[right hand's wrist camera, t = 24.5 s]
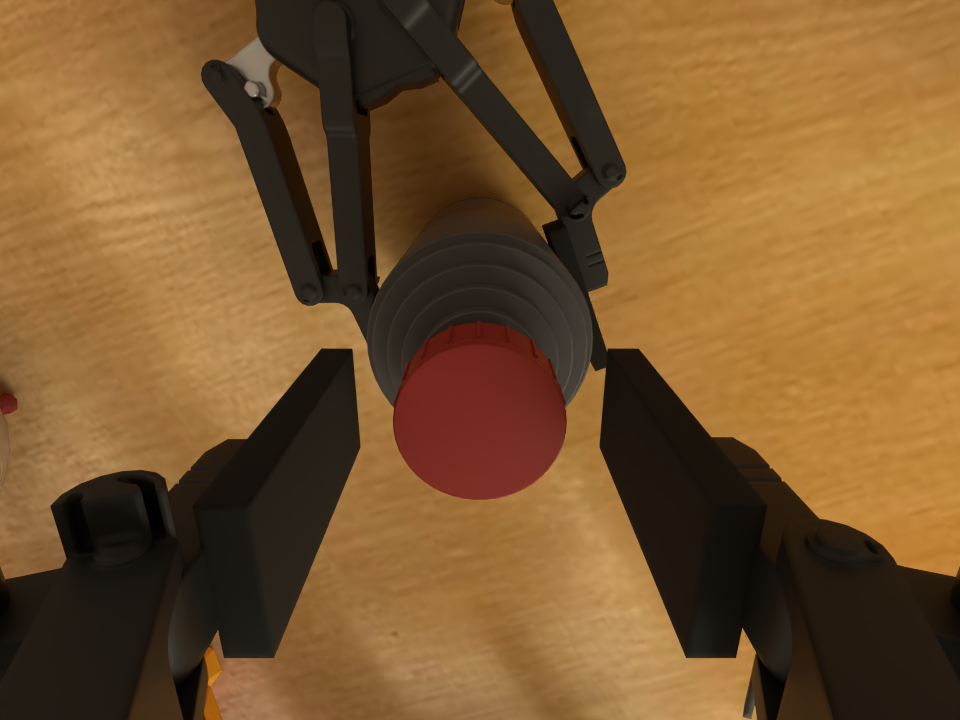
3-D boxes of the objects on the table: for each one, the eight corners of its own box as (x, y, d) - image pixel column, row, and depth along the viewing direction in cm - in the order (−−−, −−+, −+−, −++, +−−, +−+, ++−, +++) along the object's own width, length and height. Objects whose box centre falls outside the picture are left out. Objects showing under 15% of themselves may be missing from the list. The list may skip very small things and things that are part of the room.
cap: (382, 439, 15) (370, 474, 13) (429, 297, 13) (422, 316, 12) (524, 483, 15) (529, 522, 14) (583, 349, 14) (597, 375, 12)
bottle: (431, 337, 33) (372, 560, 15) (401, 212, 30) (285, 296, 12) (553, 313, 32) (647, 514, 14) (533, 185, 30) (614, 229, 12)
